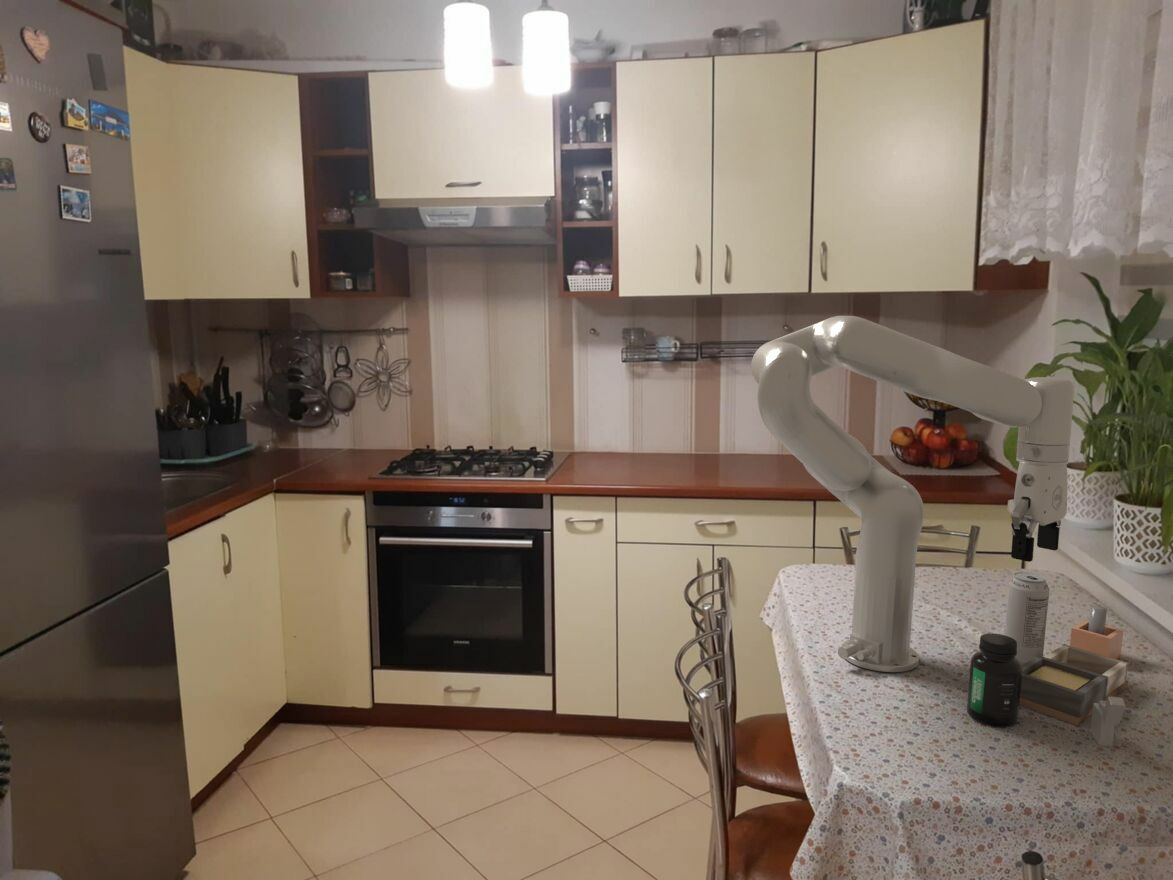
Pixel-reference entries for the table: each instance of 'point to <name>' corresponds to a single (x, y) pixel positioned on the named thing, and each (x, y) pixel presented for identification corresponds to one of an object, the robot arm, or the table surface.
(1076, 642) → the square terracotta planter
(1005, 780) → the table surface
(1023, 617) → the energy drink can
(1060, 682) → the khaki flat square slab
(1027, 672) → the wooden tray
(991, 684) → the supplement bottle
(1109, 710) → the grey notched block
